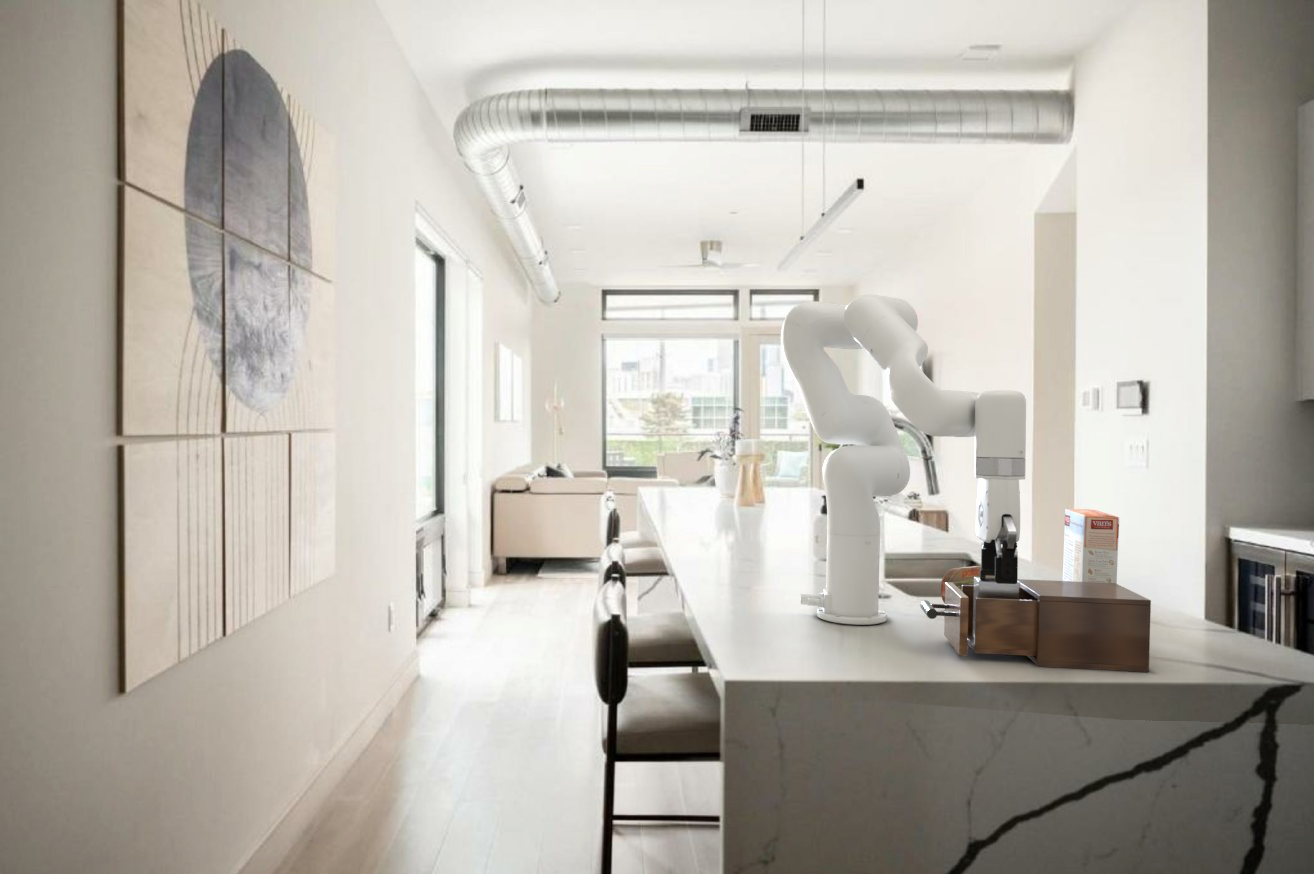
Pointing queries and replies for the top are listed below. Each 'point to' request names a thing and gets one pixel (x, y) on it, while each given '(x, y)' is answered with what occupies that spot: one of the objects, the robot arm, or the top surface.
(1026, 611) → the drawer
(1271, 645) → the top surface
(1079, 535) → the cracker box
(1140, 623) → the cabinet
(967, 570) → the tin
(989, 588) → the grater
